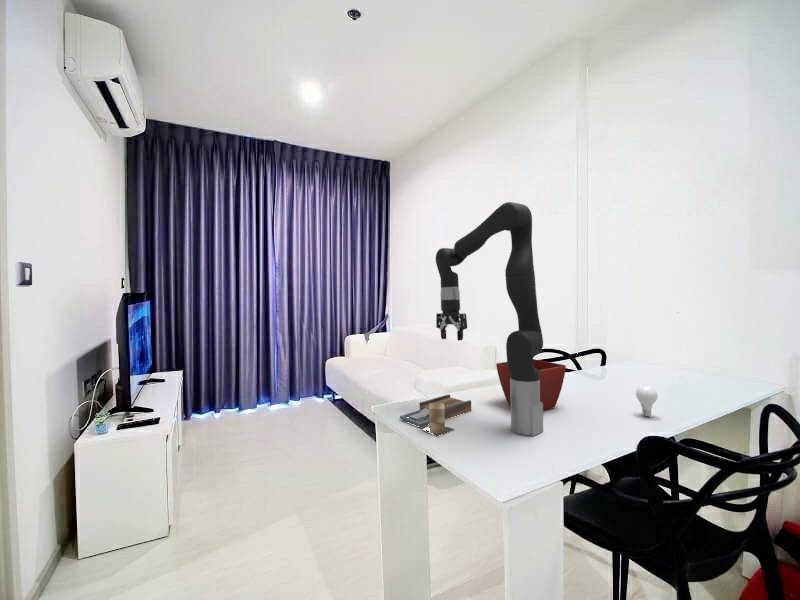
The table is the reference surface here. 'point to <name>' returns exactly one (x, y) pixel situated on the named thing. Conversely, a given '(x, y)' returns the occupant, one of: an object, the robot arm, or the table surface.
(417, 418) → the chip
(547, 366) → the plant pot
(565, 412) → the table surface
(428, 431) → the mat
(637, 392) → the lightbulb
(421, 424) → the tray
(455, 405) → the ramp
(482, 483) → the table surface
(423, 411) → the chip
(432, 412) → the tall wooden block
